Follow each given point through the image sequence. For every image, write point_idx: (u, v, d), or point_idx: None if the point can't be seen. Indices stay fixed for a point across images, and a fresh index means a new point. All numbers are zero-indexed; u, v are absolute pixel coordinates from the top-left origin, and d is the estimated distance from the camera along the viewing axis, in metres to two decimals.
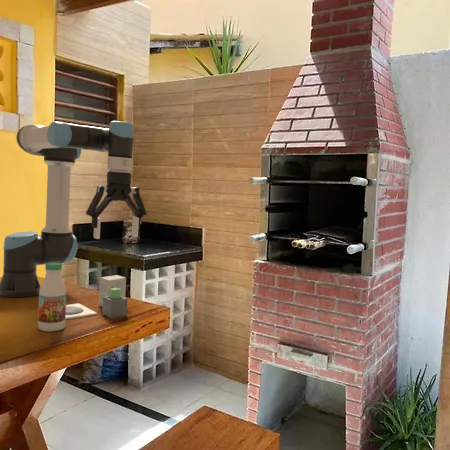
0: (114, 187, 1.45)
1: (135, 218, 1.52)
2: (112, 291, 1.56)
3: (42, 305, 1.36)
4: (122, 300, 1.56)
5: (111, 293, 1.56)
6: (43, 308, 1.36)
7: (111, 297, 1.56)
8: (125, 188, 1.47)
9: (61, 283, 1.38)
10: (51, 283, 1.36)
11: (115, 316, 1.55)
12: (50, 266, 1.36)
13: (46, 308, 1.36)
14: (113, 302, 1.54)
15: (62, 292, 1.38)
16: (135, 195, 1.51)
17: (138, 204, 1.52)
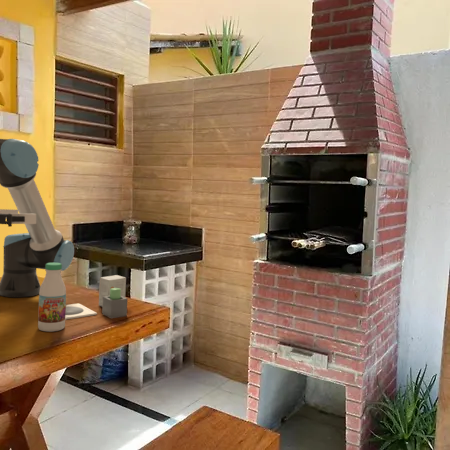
0: None
1: None
2: (112, 291, 1.56)
3: (42, 305, 1.36)
4: (122, 300, 1.56)
5: (111, 293, 1.56)
6: (43, 308, 1.36)
7: (111, 297, 1.56)
8: None
9: (61, 283, 1.38)
10: (51, 283, 1.36)
11: (115, 316, 1.55)
12: (50, 266, 1.36)
13: (46, 308, 1.36)
14: (113, 302, 1.54)
15: (62, 292, 1.38)
16: None
17: None
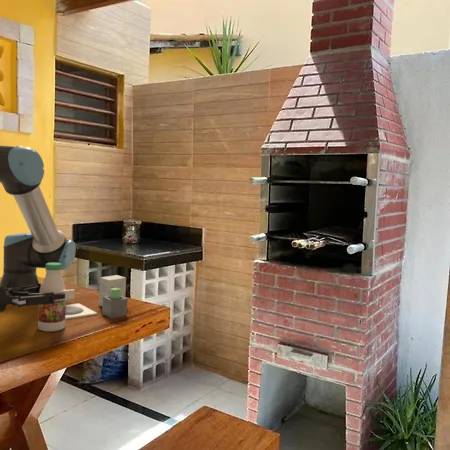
0: None
1: None
2: (112, 291, 1.56)
3: (42, 305, 1.36)
4: (122, 300, 1.56)
5: (111, 293, 1.56)
6: (43, 308, 1.36)
7: (111, 297, 1.56)
8: None
9: (61, 283, 1.38)
10: (51, 283, 1.36)
11: (115, 316, 1.55)
12: (50, 266, 1.36)
13: (46, 308, 1.36)
14: (113, 302, 1.54)
15: None
16: None
17: None
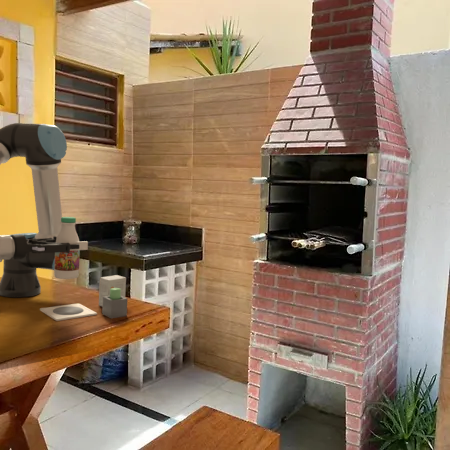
0: None
1: None
2: (112, 291, 1.56)
3: (58, 254, 1.49)
4: (122, 300, 1.56)
5: (111, 293, 1.56)
6: (59, 257, 1.49)
7: (111, 297, 1.56)
8: None
9: (75, 235, 1.51)
10: (66, 234, 1.49)
11: (115, 316, 1.55)
12: (65, 219, 1.49)
13: (62, 258, 1.49)
14: (113, 302, 1.54)
15: None
16: None
17: None
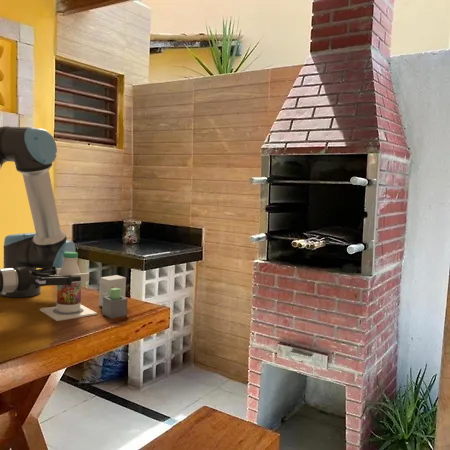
0: None
1: None
2: (112, 291, 1.56)
3: (61, 288, 1.53)
4: (122, 300, 1.56)
5: (111, 293, 1.56)
6: (61, 292, 1.53)
7: (111, 297, 1.56)
8: None
9: (77, 270, 1.55)
10: (68, 269, 1.53)
11: (115, 316, 1.55)
12: (68, 254, 1.54)
13: (64, 292, 1.53)
14: (113, 302, 1.54)
15: None
16: None
17: None
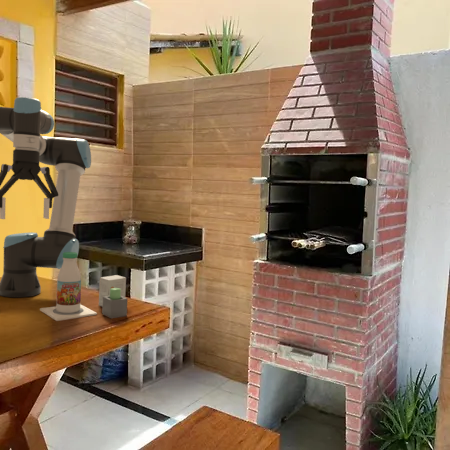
0: (20, 165, 1.40)
1: (46, 199, 1.47)
2: (112, 291, 1.56)
3: (60, 289, 1.53)
4: (122, 300, 1.56)
5: (111, 293, 1.56)
6: (61, 292, 1.53)
7: (111, 297, 1.56)
8: (33, 167, 1.43)
9: (77, 270, 1.55)
10: (68, 270, 1.53)
11: (115, 316, 1.55)
12: (67, 255, 1.53)
13: (64, 292, 1.53)
14: (113, 302, 1.54)
15: (78, 278, 1.55)
16: (45, 175, 1.46)
17: (49, 185, 1.48)
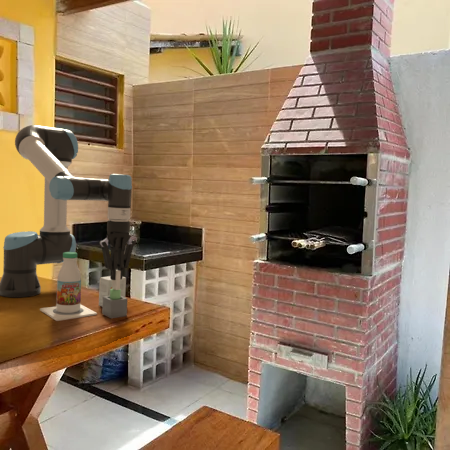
0: (112, 234, 1.53)
1: None
2: (112, 292, 1.56)
3: (60, 289, 1.53)
4: (122, 300, 1.56)
5: (111, 294, 1.56)
6: (61, 292, 1.53)
7: (111, 298, 1.56)
8: (126, 234, 1.56)
9: (77, 270, 1.55)
10: (68, 270, 1.53)
11: (115, 316, 1.55)
12: (67, 255, 1.53)
13: (64, 292, 1.53)
14: (113, 302, 1.54)
15: (78, 278, 1.55)
16: (129, 246, 1.58)
17: (126, 255, 1.58)
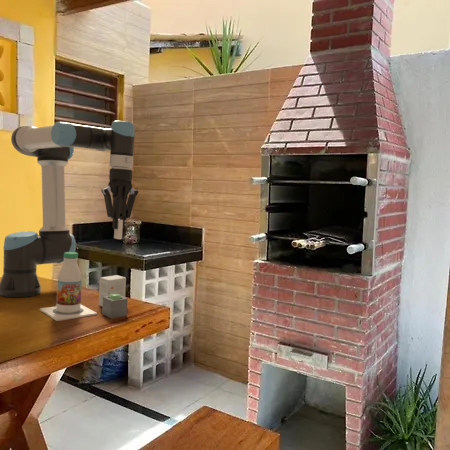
0: (114, 182, 1.51)
1: None
2: (112, 297, 1.56)
3: (61, 289, 1.53)
4: (122, 300, 1.56)
5: None
6: (61, 292, 1.53)
7: None
8: (128, 182, 1.55)
9: (77, 270, 1.55)
10: (69, 270, 1.53)
11: (115, 316, 1.55)
12: (68, 255, 1.53)
13: (64, 292, 1.53)
14: (113, 302, 1.54)
15: (78, 278, 1.55)
16: (131, 196, 1.57)
17: (128, 205, 1.57)
